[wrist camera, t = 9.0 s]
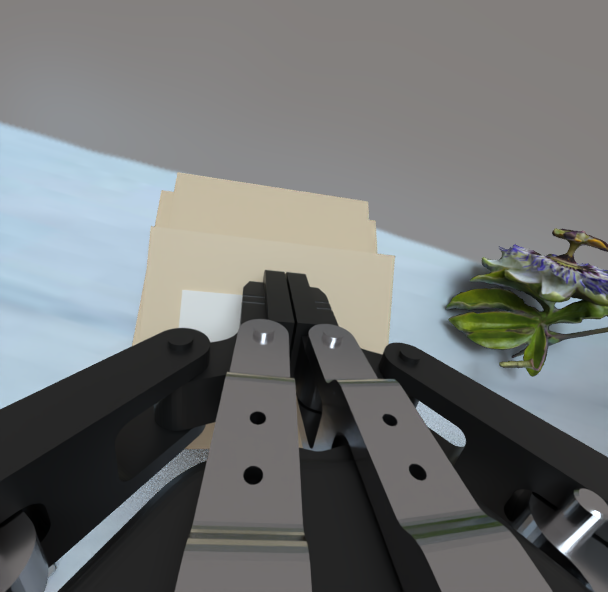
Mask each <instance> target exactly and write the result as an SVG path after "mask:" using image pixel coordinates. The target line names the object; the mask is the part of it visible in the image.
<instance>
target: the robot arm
mask: <svg viewBox="0 0 608 592" xmlns="http://www.w3.org/2000/svg"><path fill="white" fill-rule="evenodd" d="M331 309H332V308H331V306H330V304H329V301H328V298H327V296H326V294H325V293H323V292H322V291H321V290H320V289H319V288H316V287H310V286H309V283H308V280H307V277H306V274H302V273H292V272H286V273H285V272H282V271H273V270H265V271H264V276H263V282H254V281H249V282H248V283H247V284H246V285H245V286H244V287H243V295H242V305H241V315H240V326H239V330H238V332H237V333H236V334H235V335H234V336H232V337H230V338H228V339H225V340H222V341H216V342H210V340H209V338H208V337H207V336H206V335H205V334H204V333H202V332H200V331H198V330H195V329H190V328H174V329H169V330H166V331H163V332H161V333H159V334H157V335H155V336H153V337H150V338H148V339H146V340H144V341H142V342H140V343H138V344H136V345H134V346H132V347H130V348H127V349H125V350H123V351H121V352H119V353H117V354H115V355H113V356H111V357H109V358H107V359H105V360H102V361H100V362H98V363H96V364H94V365H92V366H90V367H88V368H86V369H84V370H82V371H79V372H77V373H75V374H73V375H71V376H69V377H67V378H65V379H63V380H61V381H59V382H57V383H54V384H52V385H50V386H48V387H46V388H44V389H42V390H40V391H38V392H36V393H34V394H32V395H29V396H27V397H25V398H23V399H21V400H19V401H17V402H15V403H13V404H11V405H9V406H6V407H4V408H2V409H0V592H44V591H45V588H46V584H47V581H48V574H49V573H48V568H49V567H51V566H52V565H53V564H54V563H55V562H56V561H57V560H58V559H60V558H61V557H62V556H63V555H64V554H65V553H66V552H68V551H69V550H70V549H71V548H72V547H73V546H74V545H76V544H77V543H78V542H79V541H80V540H81V539H82V538H84V537H85V536H86V535H87V534H88V533H89V532H90V531H91V530H93V529H94V528H95V527H96V526H97V525H98V524H99V523H101V522H102V521H103V520H104V519H105V518H106V517H107V516H109V515H110V514H111V513H112V512H113V511H114V510H115V509H116V508H118V507H119V506H120V505H121V504H122V503H123V502H124V501H126V500H127V499H128V498H129V497H130V496H131V495H132V494H134V493H135V492H136V491H137V490H138V489H139V488H140V487H141V486H143V485H144V484H145V483H146V482H147V481H148V480H149V479H151V478H152V477H153V476H154V475H155V474H156V473H157V472H159V471H160V470H161V469H162V468H163V467H164V466H165V465H167V464H168V463H169V462H170V461H171V460H172V459H173V458H174V457H176V456H177V455H178V454H179V453H180V452H181V451H182V450H184V449H185V448H186V447H187V446H188V445H189V444H190V443H192V442H193V441H194V440H195V439H196V438H197V437H198V436H199V435H200V434H201V433H202V432H203V430H204V428H205V426H206V424H210V423H214V422H215V427H214V431H213V436H212V440H211V445H210V449H209V454H208V458H207V461H205V462H202V463H200V464H198V465H196V466H194V467H191V468H189V469H188V470H186V471H185V472H183V473H181V474H180V475H178V476H177V477H175V478H174V479H173V480H172V481H170V482H169V483H168V484H166V485H165V486H164V487H163V488H162V489H161V490H160V491H159V492H157V493H156V494H155V495H154V496H153V497H152V498H151V499H150V500H149V501H148V502H147V503H146V504H145V505H144V506H143V507H142V508H141V509H140V510H139V511H138V512H137V513H136V514H135V515H134V516H133V517H132V518H131V519H130V520H129V521H128V522H127V523H126V524H125V525H124V526H123V527H122V528H121V529H120V530H119V531H118V532H117V533H116V534H115V535H114V536H113V537H112V538H111V539H110V540H109V541H108V542H107V543H106V544H105V545H104V546H103V547H102V548H101V549H100V550H99V551H98V552H97V553H96V554H95V555H94V556H93V557H92V558H91V559H90V560H89V561H88V562H87V563H86V564H85V565H84V566H83V567H82V568H81V569H80V570H79V571H78V572H77V573H76V574H75V575H74V576H73V577H72V578H71V579H70V580H69V581H68V582H67V583H66V584H65V585H64V586H63V587H62V588H61V589H60V590H59V591H58V592H608V457H606V456H604V455H603V454H601V453H599V452H597V451H596V450H594V449H592V448H591V447H589V446H587V445H585V444H584V443H582V442H580V441H578V440H577V439H575V438H573V437H571V436H570V435H568V434H566V433H564V432H563V431H561V430H559V429H557V428H556V427H554V426H552V425H550V424H549V423H547V422H545V421H544V420H542V419H540V418H538V417H537V416H535V415H533V414H531V413H530V412H528V411H526V410H524V409H523V408H521V407H519V406H517V405H516V404H514V403H512V402H510V401H509V400H507V399H505V398H503V397H502V396H500V395H498V394H497V393H495V392H493V391H491V390H490V389H488V388H486V387H484V386H483V385H481V384H479V383H477V382H476V381H474V380H472V379H470V378H469V377H467V376H465V375H463V374H462V373H460V372H458V371H456V370H455V369H453V368H451V367H450V366H448V365H446V364H444V363H443V362H441V361H439V360H437V359H436V358H434V357H432V356H430V355H429V354H427V353H425V352H423V351H422V350H420V349H418V348H416V347H414V346H411V345H408V344H404V343H391V344H389V345H387V346H386V347H385V349H384V352H383V354H379V353H375V352H372V351H368V350H365V349H362V348H360V346H359V345H358V343H357V341H356V339H355V338H354V336H353V335H352V334H351V333H350V332H349V331H347V330H346V329H344V328H342V327H339V325H338V323H337V320H336V318H335V316H334V313H333V311H332V310H331ZM419 401H420V402H422V403H423V404H425V405H426V406H428V407H429V408H431V409H432V410H434V411H435V412H437V413H438V414H440V415H441V416H443V417H444V418H446V419H447V420H448V421H450V422H451V423H453V424H454V425H456V426H457V427H459V428H460V429H461V431H462V432H463V433H464V435H465V438H466V445H465V446H464V447H458V446H455V445H453V444H451V443H450V442H448V441H447V440H445V439H444V438H443V437H441V436H440V435H438V434H437V433H436V432H434V431H433V430H431V429H430V428H429V427H427V425H426V424H425V422H424V421H423V419H422V418H421V416H420V415H419V413H418V411H417V410H416V407H417V404H418V402H419ZM298 429H299V433H300V437H301V442H302V446H303V448H299V442H298Z"/></svg>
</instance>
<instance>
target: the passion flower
mask: <svg viewBox="0 0 608 592" xmlns="http://www.w3.org/2000/svg"><path fill="white" fill-rule="evenodd" d="M552 234H553V235H554V236H556V237H558V238H562V239H566V240H567V241H568V242H569V243H570V248H569V250H568V252H567V253H566V254H563V255H559V256H557V255H554V254H549V255H547V256H542V255H541V254H539V253H537V252H535V251H534V250H529V249H526V248H523V247H519V246H517V245H513V247H510V249H508V250H507V249H504V248H502V249H504V250H502V249H500V250H501V252H502V257H501V258H500V259H499V260H490V259H486V258H484V257H483V258H482V265H483V266H484V267H486V268H487V269H489V270H490V271H491V273H489V274H485V275H477V276H476V277H474V278H472V279H471V280H470V282H486V283H488V284H498V285H500V286H508V287H511V288H514V289H517V290H519V291H522V292H524V293H526V294H528V295H530V296H532V297H533V298H534V299H536V300H537V301H538V302H539V303H540V304H541V306H542V308H543V309H544V311H542V312H539V311H538V310H537V309H536V308H534V307H531V306H528V305H527V304H525V303H524V301H523V299H521V298H520V297H518V296H517V295H516V294H514V293H513V292H511V291H510V290H505V289H503V288H498V287H493V288H490V289H488V288H482V289H473V290H469V291H467V292H461V293H460V294H458V295H456V296H455V297H453V298H452V300H451V302H450V303H449V304H448V305H447V307H446V309H447V310H449V309H452V308H458V309H465V310H475V309H494V308H495V309H502V310H506V311H494V312H483V313H479V314H477V313H474V312H469V313H465V314H459V315H457V316H452V317H451V318H449V319H448V320H449V322H450V323H452V324H453V325H454V326H455V327H456V328H457V329H458V330H460V331H462V332H464V333H465V334H466V335H467V337H468V338H469V339H470V340H472V341H474V342H475V343H477V344H479V345H481V346H483V347H486V348H491V349H501V350H506V349H511V348H515V347H517V346H521V345H525V344H528V346H527V347H526V348H525V349H524V350H522V351H520V352H519V353H517V354H515V355H513V356H512V358H514V357H516V356H519V355H523V354H524V356H523V360H524V361H508V362H500V363H499V365H500V366H501V367H503V368H523V367H524V368H526V369H527V371H528V373H529V374H530V375H531V376H532V377H533V376H536V375H537V374H538V373H539V372H540V371H541V369H542V366H543V365H544V362H545V360H546V356H547V349H548V346H550V345H553V344H555V343H558V342H560V341H562V340H565V339H570V338H576V337H583V336H588V335H593V334H598V333H605V332H608V327H607V328H601V329H595V330H589V331H583V332H577V333H571V334H561V333H556V332H552V331H549V326H550V325H552V324H557V323H571V324H574V323H581V322H582V320H583V319H601V318H603V317H605V316H608V270H602V269H599V268H598V267H595V266H591V265H589V264H583V263H582V264H577V263H576V262H575V260H574V253H575V250H576V249H577V248H578V247H579V246H582V245H588V246H592V247H595V248H598V249H600V250H603V251H607V252H608V244H607V243H606V242H604V241H602V240H600V239H597V238H594V237H592V236H590V235H587V234H586V233H585V231H572V230H566V229H559V230H558V229H554V231H553V232H552ZM500 248H501V247H500ZM570 297H572V298H578V299H582V300H581V301H578V302H574V303H572V304H570V305H568V306H566V307H564V308H562V309H557V308H556V307H555V306H554V305H555V303H556V302H564V301H567V300H569V299H570ZM507 311H510V312H507Z"/></svg>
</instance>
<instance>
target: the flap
mask: <svg viewBox="0 0 608 592" xmlns="http://www.w3.org/2000/svg"><path fill="white" fill-rule="evenodd" d="M394 261H395V256H392V255H384V254H375V253H367V252H359V251H351V250H343V249H334V248H326V247H318V246H310V245H301V244H293V243H285V242H277V241H268V240H260V239H252V238H244V237H236V236H227V235H219V234H211V233H203V232H194V231H186V230H178V229H170V228H161V227H153V226H151V230H150V240H149V250H148V260H147V271H146V281H145V291H144V301H143V311H142V321H141V331H140V341H139V343H140V342H142V341H144V340H146V339H148V338H150V337H153V336H155V335H157V334H159V333H161V332H163V331H166V330H169V329H174V328H190V329H195V330H198V331H200V332H202V333H204V334H205V335H206V336H207V337H208V338H209V340H210V342H216V341H222V340H225V339H228V338H230V337H232V336H234V335H235V334H236V333H237V332H238V330H239V326H240V315H241V305H242V295H243V287H244V286H245V285H246V284H247V283H248V282H249V281H254V282H263V276H264V271H265V270H273V271H282V272H285V273H286V272H292V273H302V274H306V277H307V280H308V283H309V286H310V287H316V288H319V289H320V290H321V291H322V292H323V293H325V294H326V296H327V298H328V301H329V304H330V306H331V308H332V309H331V310H332V311H333V313H334V316H335V318H336V320H337V323H338V325H339V327H342V328H344V329H346V330H347V331H349V332H350V333H351V334H352V335H353V336H354V338H355V339H356V341H357V343H358V345H359V346H360V348H362V349H365V350H368V351H372V352H375V353H379V354H383V352H384V349H385V347H386V346H387V345H388V342H389V329H390V315H391V302H392V288H393V275H394ZM214 427H215V422H214V423H210V424H206V426H205V428H204V430H203V432H202V433H201V434H200V435H199V436H198V437H197V438H196V439H195V440H194V441H193V442H192V443H190V444H189V445H188V446H187V447H186V448H185V449H210V445H211V440H212V436H213V431H214ZM298 442H299V448H303V446H302V442H301V437H300V433H299V429H298Z"/></svg>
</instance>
